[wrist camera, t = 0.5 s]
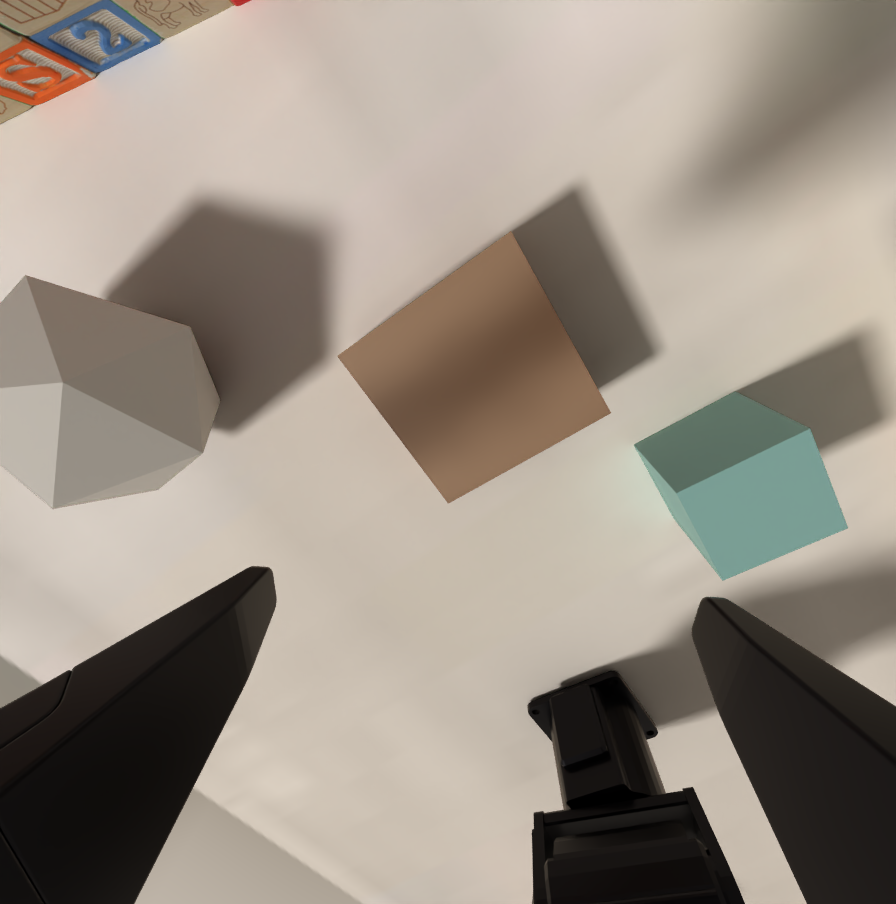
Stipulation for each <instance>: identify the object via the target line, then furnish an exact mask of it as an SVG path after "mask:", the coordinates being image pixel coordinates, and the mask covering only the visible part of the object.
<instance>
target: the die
mask: <svg viewBox="0 0 896 904" xmlns="http://www.w3.org/2000/svg"><path fill="white" fill-rule="evenodd" d="M220 401H221V400H220V398H219V395H218V393H217V391H216V388H215V386H214V383H213V381H212V378H211V376H210V374H209V371H208V369H207V366H206V364H205V361H204V359H203V357H202V354H201V352H200V349H199V347H198V344H197V342H196V340H195V337H194V335H193V332H192V330H191V327H190V326H187V325H184V324H180V323H177V322H174V321H171V320H167V319H164V318H161V317H158V316H155V315H151V314H148V313H145V312H142V311H139V310H135V309H132V308H129V307H126V306H123V305H119V304H116V303H113V302H110V301H107V300H103V299H100V298H97V297H94V296H91V295H87V294H84V293H81V292H78V291H74V290H71V289H68V288H65V287H62V286H58V285H55V284H52V283H49V282H46V281H42V280H39V279H36V278H33V277H30V276H26V275H25V276H24V277H23V278H22V280H21V281H20V282H19V283H18V284H17V285H16V286H15V287H14V289H13V290H12V291H11V292H10V293H9V294H8V295H7V296H6V297H5V299H4V300H3V301H2V302H1V303H0V466H2V467H3V468H4V469H5V470H6V471H8V472H9V473H10V474H11V475H12V476H14V477H15V478H16V479H17V480H18V481H20V482H21V483H22V484H23V485H24V486H26V487H27V488H28V489H29V490H30V491H32V492H33V493H34V494H35V495H36V496H37V497H39V498H40V499H41V500H42V501H43V502H45V503H46V504H47V505H48V506H49V507H51V508H52V509H56V508H61V507H66V506H72V505H77V504H83V503H88V502H94V501H99V500H105V499H110V498H116V497H121V496H127V495H132V494H138V493H143V492H149V491H154V490H158V489H160V488H161V487H162V486H163V485H165V484H166V483H167V482H168V481H169V480H171V479H172V478H173V477H174V476H176V475H177V474H178V473H179V472H180V471H182V470H183V469H184V468H185V467H187V466H188V465H189V464H190V463H191V462H193V461H194V460H195V459H196V458H198V457H199V456H200V455H201V454H202V453H203V451H204V448H205V445H206V442H207V439H208V436H209V433H210V430H211V427H212V424H213V422H214V419H215V416H216V413H217V410H218V407H219V404H220Z"/></svg>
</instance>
